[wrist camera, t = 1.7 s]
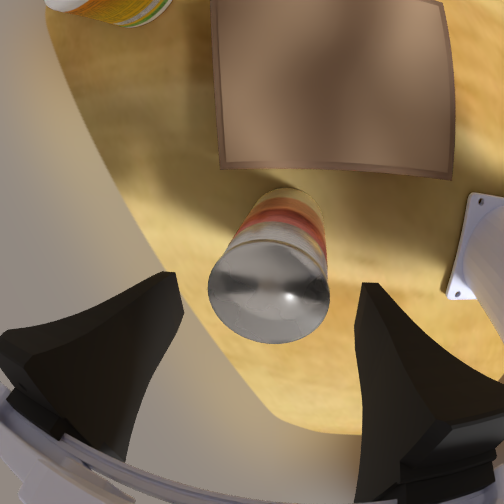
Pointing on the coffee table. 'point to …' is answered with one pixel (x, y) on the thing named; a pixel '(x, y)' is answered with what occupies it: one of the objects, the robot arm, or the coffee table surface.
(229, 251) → the tin can
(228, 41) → the brown rectangular block
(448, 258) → the coffee table surface
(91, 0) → the supplement bottle
